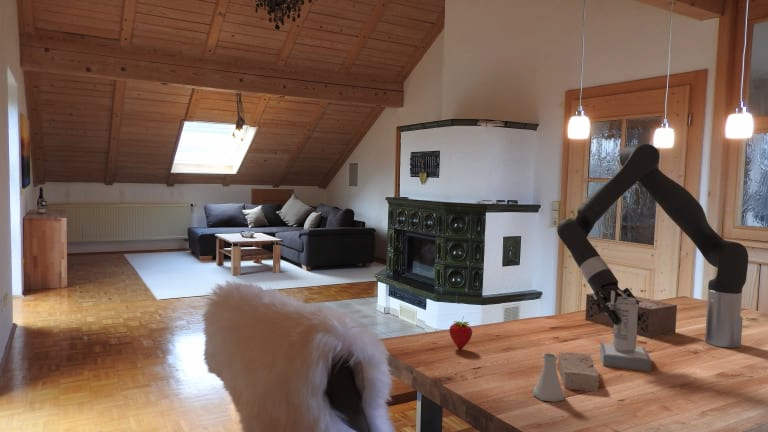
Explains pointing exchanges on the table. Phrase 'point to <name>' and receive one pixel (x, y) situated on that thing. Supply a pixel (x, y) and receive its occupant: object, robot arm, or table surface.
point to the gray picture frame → (625, 358)
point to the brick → (578, 371)
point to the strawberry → (460, 333)
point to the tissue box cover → (654, 317)
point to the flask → (549, 381)
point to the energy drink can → (626, 325)
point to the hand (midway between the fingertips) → (629, 322)
